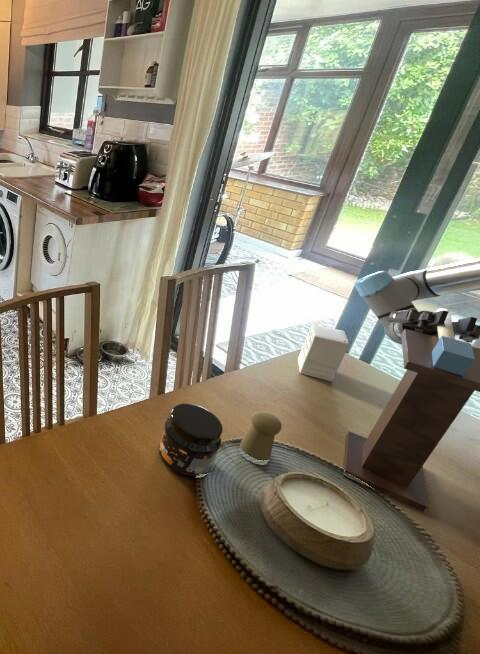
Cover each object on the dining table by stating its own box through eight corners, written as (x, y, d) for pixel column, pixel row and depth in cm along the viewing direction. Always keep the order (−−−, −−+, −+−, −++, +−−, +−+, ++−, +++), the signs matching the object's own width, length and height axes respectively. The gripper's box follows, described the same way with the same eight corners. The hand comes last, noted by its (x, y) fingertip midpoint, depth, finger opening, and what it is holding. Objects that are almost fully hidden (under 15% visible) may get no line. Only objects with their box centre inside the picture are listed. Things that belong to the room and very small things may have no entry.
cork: (240, 460, 89) (255, 423, 84) (234, 439, 94) (248, 403, 89) (273, 468, 87) (290, 431, 82) (265, 447, 92) (281, 410, 87)
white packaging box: (328, 367, 117) (345, 330, 111) (332, 382, 111) (350, 344, 106) (296, 359, 120) (311, 323, 115) (298, 373, 115) (314, 335, 109)
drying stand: (418, 465, 88) (495, 352, 75) (423, 512, 78) (512, 393, 65) (345, 435, 95) (404, 328, 82) (342, 475, 86) (408, 361, 73)
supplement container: (153, 437, 95) (163, 398, 90) (202, 444, 93) (215, 404, 88) (163, 476, 86) (175, 435, 80) (217, 485, 84) (234, 444, 78)
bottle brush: (452, 318, 85) (461, 303, 83) (463, 376, 69) (475, 359, 67) (428, 312, 87) (436, 297, 86) (433, 367, 71) (443, 350, 70)
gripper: (464, 356, 91) (515, 356, 73) (369, 330, 101) (392, 324, 82) (477, 325, 91) (531, 317, 72) (380, 301, 101) (405, 289, 82)
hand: (457, 320), depth 77 cm, fingers open, 3 cm apart
